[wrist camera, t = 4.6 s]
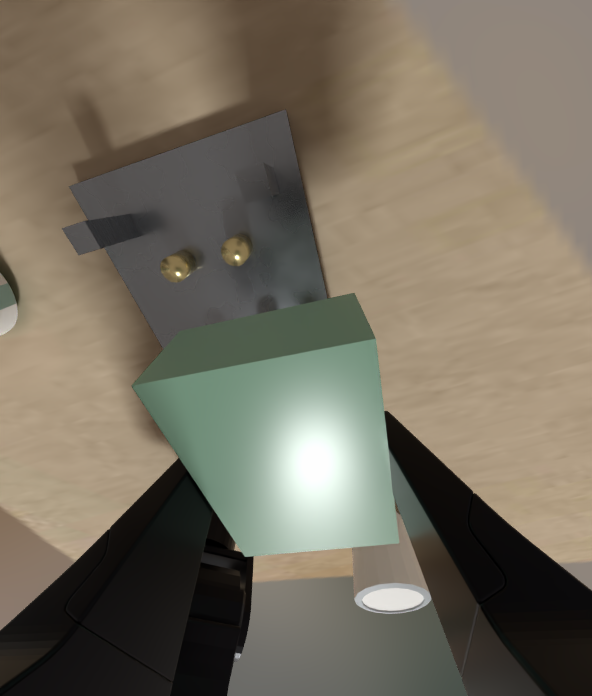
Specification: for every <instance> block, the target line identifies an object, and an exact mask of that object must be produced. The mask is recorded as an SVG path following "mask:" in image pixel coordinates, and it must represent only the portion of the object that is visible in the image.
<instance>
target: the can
mask: <svg viewBox="0 0 592 696" xmlns="http://www.w3.org/2000/svg"><path fill="white" fill-rule="evenodd" d="M17 316H18V309H17V303H16V299H15V296H14V294H13V291H12V289H11V287H10V286H9V284H8V282H7V281H6V279H5V278H4V276H3V275H2V274H1V273H0V336H1V335H3V334H5V333H7V332H8V331H10V330H11V329H12V328H13V327H14V325H15V323H16V321H17Z"/></svg>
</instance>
